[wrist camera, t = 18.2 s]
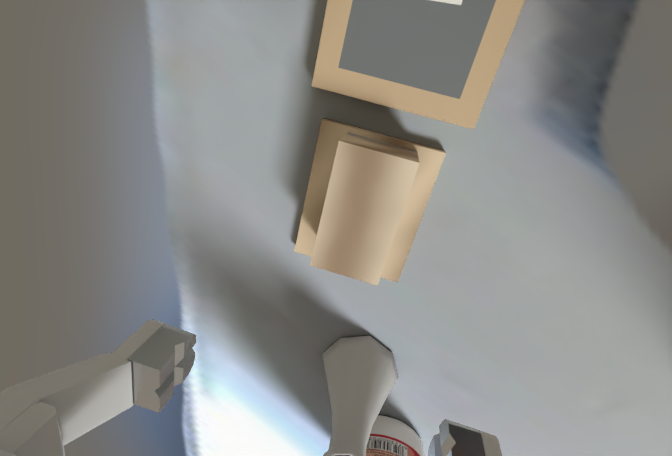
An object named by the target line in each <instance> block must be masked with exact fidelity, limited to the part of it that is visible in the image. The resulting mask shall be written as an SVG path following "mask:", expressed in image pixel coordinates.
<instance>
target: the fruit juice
mask: <svg viewBox="0 0 672 456" xmlns="http://www.w3.org/2000/svg"><path fill="white" fill-rule="evenodd" d="M366 456H425V452H424V447H423V444H422V442H421V440H420V438H419V436H418V435H417V434H416V432H415V431H414V430H413V429H412V428H410V427H409V426H408V425H406V424H405V423H403V422H401V421H399V420H397V419H394V418H391V417H387V416H382V415H378V416H377V418H376V420H375V422H374V424H373V426H372V430H371V433H370V436H369V440H368V443H367V448H366Z"/></svg>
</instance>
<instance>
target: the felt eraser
mask: <svg viewBox="0 0 672 456" xmlns="http://www.w3.org/2000/svg"><path fill="white" fill-rule="evenodd" d="M419 164H420V162H419V157H418V153H417V151H416V150H412V149H409V148H405V147H401V146H398V145H394V144H390V143H386V142H383V141H379V140H375V139H372V138H368V137H364V136H361V135H357V134H353V133H350V132H348V133H347V134H346V135H345V136H344V137H342V138H341V139H340V140H339V142H338V147H337V151H336V155H335V160H334V164H333V168H332V172H331V177H330V181H329V185H328V189H327V194H326V198H325V202H324V206H323V211H322V215H321V219H320V223H319V228H318V232H317V236H316V240H315V245H314V249H313V253H312V258H311V262H310V265H311V266H314V267H317V268H321V269H324V270H327V271H331V272H334V273H337V274H341V275H344V276H347V277H350V278H354V279H357V280H360V281H364V282H367V283H370V284H374V285H378V282H379V279H380V277H381V274H382V271H383V268H384V265H385V262H386V259H387V256H388V253H389V250H390V248H391V245H392V242H393V239H394V236H395V233H396V230H397V227H398V224H399V222H400V219H401V216H402V213H403V210H404V207H405V204H406V201H407V198H408V195H409V193H410V190H411V187H412V184H413V181H414V178H415V175H416V172H417V169H418V166H419Z"/></svg>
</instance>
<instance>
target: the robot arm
mask: <svg viewBox="0 0 672 456" xmlns="http://www.w3.org/2000/svg"><path fill="white" fill-rule="evenodd" d="M195 343H196V335H194V334H192V333H189V332H187V331H184V330H181V329H179V328H176V327H173V326H171V325H168V324H165V323H162V322H159V321H157V320H153V319H151V320H149V321H147V322H146V323H144V324H143V325H142V326H141V327H140V328H139V329H138V330H137V331H136V332H134V333H133V334H132V335H131V336H130V337H129V338H128V339H127V340H126V341H124V342H123V343H122V344H121V345H120V346H119V347H118V348H117V349H116V350H114V351H113V352H112V353H111V354H108V353H104V354H101V355H98V356H95V357H93V358H90V359H87V360H84V361H81V362H79V363H76V364H73V365H70V366H67V367H64V368H62V369H59V370H56V371H53V372H50V373H47V374H45V375H42V376H39V377H36V378H33V379H30V380H28V381H25V382H22V383H19V384H16V385H13V386H11V387H8V388H7V389H5V390H4V391H3V392H2V393H0V456H65V452H64V447H63V446H64V445H66V444H67V443H69V442H71V441H73V440H74V439H76V438H78V437H80V436H81V435H83V434H85V433H86V432H88V431H90V430H92V429H94V428H95V427H97V426H99V425H100V424H102V423H104V422H105V421H107V420H109V419H111V418H113V417H114V416H116V415H118V414H120V413H121V412H123V411H125V410H127V409H128V408H130V407H132V406H133V404H135V405H138V406H141V407H144V408H147V409H150V410H153V411H156V412H159V413H160V411H161V410H162V409H163V407H164V406H165V405H166V403H167V402H168V401H169V400H170V398H171V397H172V395H173V394H174V386H176V385H178V384H180V383H182V382H183V381H184V380H185V378H186V377H187V376H188V374H189V372H190V370H191V368H192V366H193V363H194V359H195V352H194V350H193V349H192V347H193V346H194V345H195ZM439 430H440V433H439V434H437V435H434V437H433V439H432V441H431V443H430V446H429V451H428V456H502V453H501V449H500V445H499V441H498V439H497V437H496V436H494V435H491V434H488V433H485V432H482V431H479V430H477V429H474V428H471V427H468V426H465V425H462V424H459V423H456V422H453V421H449V420H446V419H445V420H443V421H442V423H441V424H440V426H439Z"/></svg>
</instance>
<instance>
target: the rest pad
mask: <svg viewBox="0 0 672 456" xmlns="http://www.w3.org/2000/svg"><path fill="white" fill-rule="evenodd" d="M348 132H350V133H353V134H357V135H361V136H364V137H368V138H372V139H375V140H379V141H383V142H386V143H390V144H394V145H398V146H401V147H405V148H409V149H412V150H416V151H417V153H418V157H419V162H420V164H419V166H418V169H417V172H416V175H415V178H414V181H413V184H412V187H411V190H410V193H409V195H408V198H407V201H406V204H405V207H404V210H403V213H402V216H401V219H400V222H399V224H398V227H397V230H396V233H395V236H394V239H393V242H392V245H391V248H390V250H389V253H388V256H387V259H386V262H385V265H384V268H383V271H382V274H381V278H385V279H388V280H391V281H395V282H398V280H399V277H400V275H401V272H402V269H403V267H404V264H405V261H406V259H407V256H408V253H409V251H410V248H411V245H412V243H413V240H414V237H415V235H416V232H417V229H418V227H419V224H420V221H421V219H422V216H423V213H424V211H425V208H426V205H427V203H428V200H429V197H430V195H431V192H432V189H433V187H434V184H435V181H436V179H437V176H438V173H439V171H440V168H441V165H442V163H443V160H444V157H445V155H446V152H445V151H442V150H439V149H435V148H431V147H428V146H424V145H420V144H417V143H413V142H409V141H406V140H402V139H398V138H394V137H391V136H387V135H383V134H380V133H376V132H372V131H369V130H365V129H361V128H358V127H354V126H350V125H347V124H343V123H339V122H335V121H332V120H328V119H322V121H321V125H320V130H319V135H318V140H317V145H316V149H315V154H314V159H313V164H312V169H311V173H310V178H309V183H308V188H307V193H306V197H305V202H304V207H303V212H302V217H301V221H300V226H299V231H298V236H297V241H296V245H295V250H294V251H295V252H298V253H301V254H305V255H308V256H311V257H312V253H313V249H314V245H315V240H316V236H317V232H318V228H319V223H320V219H321V215H322V211H323V206H324V202H325V198H326V194H327V189H328V185H329V181H330V177H331V172H332V168H333V164H334V160H335V155H336V151H337V147H338V142H339V140H340V139H341V138H342V137H344V136H345V135H346V134H347V133H348Z"/></svg>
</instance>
